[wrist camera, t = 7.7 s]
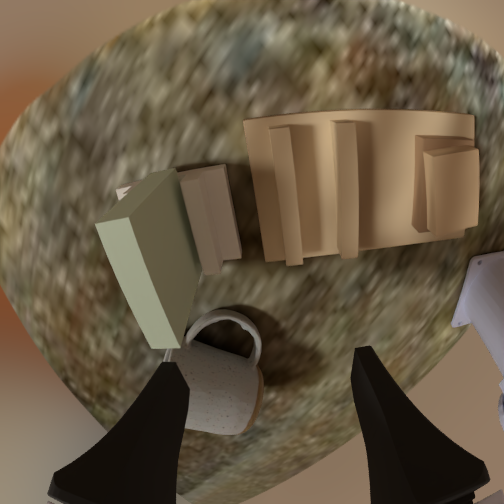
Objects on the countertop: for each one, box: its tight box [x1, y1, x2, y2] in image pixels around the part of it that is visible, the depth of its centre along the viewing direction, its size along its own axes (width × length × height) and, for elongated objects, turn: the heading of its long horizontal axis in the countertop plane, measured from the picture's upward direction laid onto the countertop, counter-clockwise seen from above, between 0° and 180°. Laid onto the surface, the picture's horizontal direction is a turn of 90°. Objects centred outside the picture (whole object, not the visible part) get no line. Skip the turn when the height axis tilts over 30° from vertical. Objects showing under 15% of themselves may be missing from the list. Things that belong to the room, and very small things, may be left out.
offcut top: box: [423, 145, 479, 237], centre depth 14 cm, size 4×5×1 cm
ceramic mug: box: [163, 309, 264, 435], centre depth 22 cm, size 11×8×8 cm
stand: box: [116, 164, 242, 275], centre depth 18 cm, size 7×6×2 cm
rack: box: [243, 109, 474, 266], centre depth 16 cm, size 15×9×2 cm, turn 99°
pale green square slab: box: [95, 168, 202, 349], centre depth 15 cm, size 2×7×7 cm, turn 9°
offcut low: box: [411, 135, 474, 233], centre depth 16 cm, size 4×6×1 cm, turn 9°
